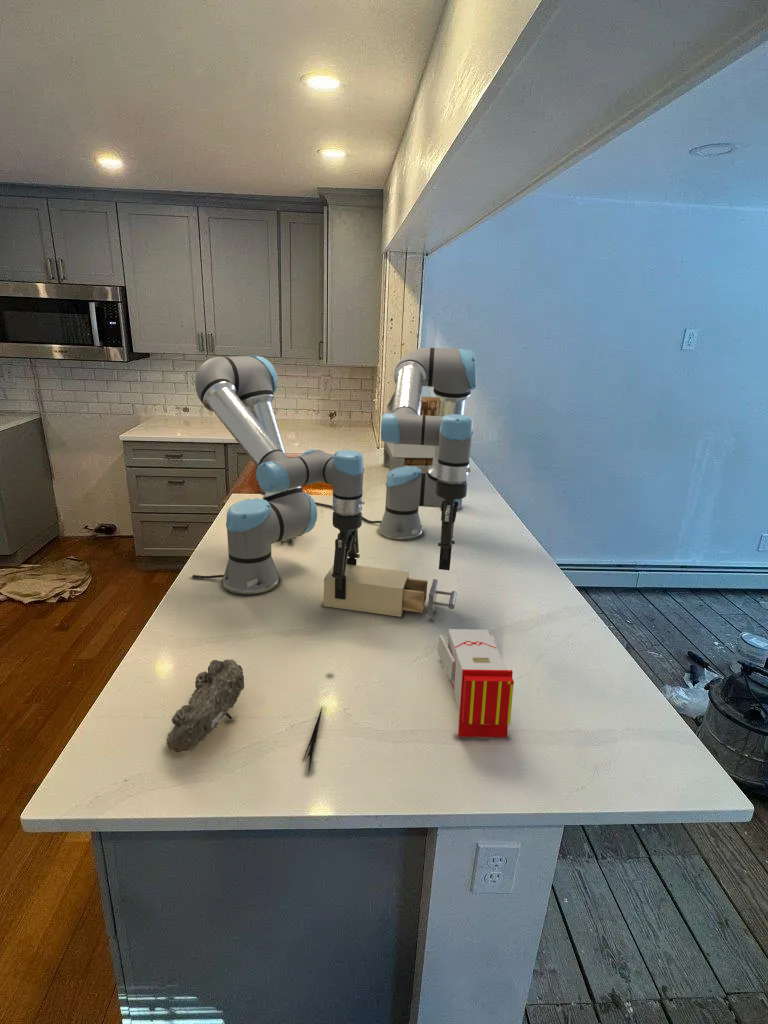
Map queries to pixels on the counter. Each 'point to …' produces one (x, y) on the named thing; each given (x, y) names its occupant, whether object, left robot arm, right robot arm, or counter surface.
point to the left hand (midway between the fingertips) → (345, 589)
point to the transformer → (406, 452)
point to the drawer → (423, 596)
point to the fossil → (206, 705)
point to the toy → (478, 682)
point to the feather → (313, 740)
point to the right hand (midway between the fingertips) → (444, 568)
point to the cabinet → (368, 590)
